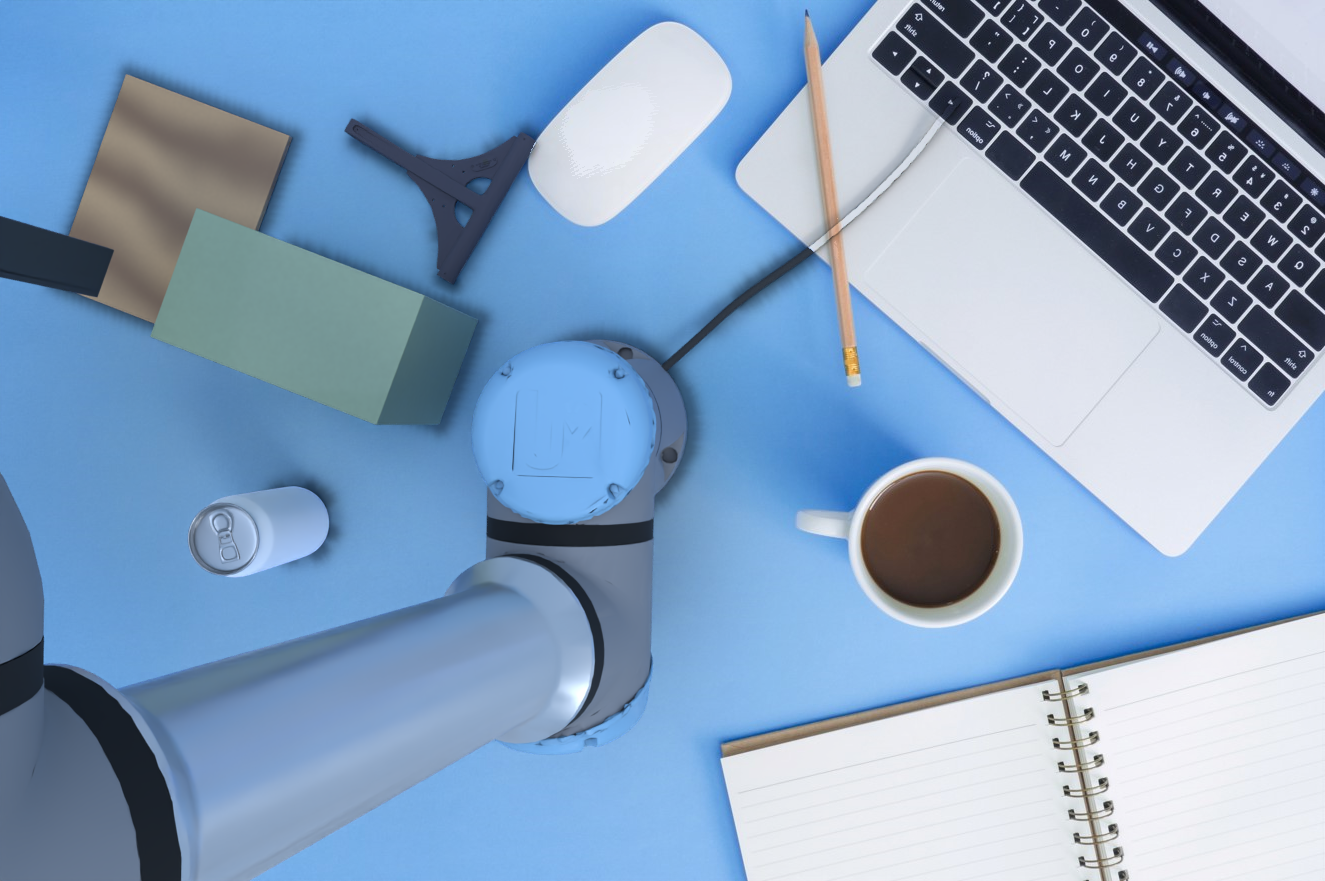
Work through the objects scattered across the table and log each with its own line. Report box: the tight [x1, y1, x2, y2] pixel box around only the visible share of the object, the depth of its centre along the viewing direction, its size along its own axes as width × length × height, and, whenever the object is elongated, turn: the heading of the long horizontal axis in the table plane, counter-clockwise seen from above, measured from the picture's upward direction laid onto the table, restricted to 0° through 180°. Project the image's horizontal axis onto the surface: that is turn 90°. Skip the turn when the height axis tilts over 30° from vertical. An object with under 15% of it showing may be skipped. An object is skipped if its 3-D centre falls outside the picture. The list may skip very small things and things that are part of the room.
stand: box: [149, 208, 479, 426], centre depth 71 cm, size 10×18×15 cm, turn 69°
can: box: [187, 485, 330, 578], centre depth 73 cm, size 6×6×12 cm
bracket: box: [344, 117, 537, 285], centre depth 77 cm, size 14×15×3 cm
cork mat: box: [68, 73, 293, 325], centre depth 79 cm, size 20×16×1 cm
